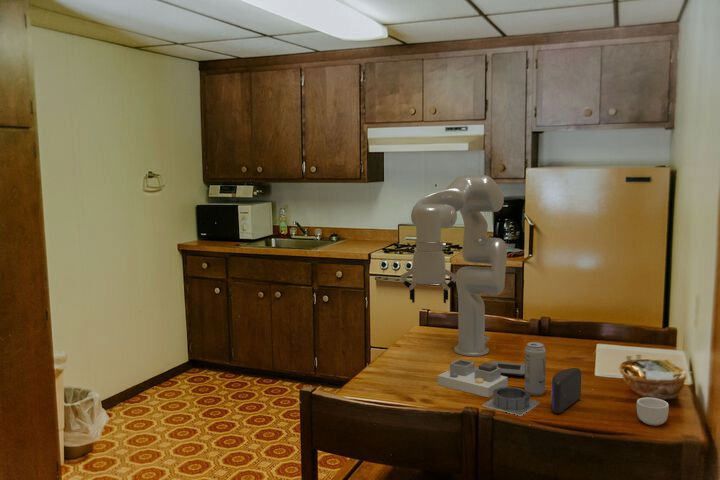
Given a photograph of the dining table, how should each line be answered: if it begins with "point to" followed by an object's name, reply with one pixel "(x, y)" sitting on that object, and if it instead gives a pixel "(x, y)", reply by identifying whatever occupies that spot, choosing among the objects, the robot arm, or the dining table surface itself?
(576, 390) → the leaning round-cornered charcoal block
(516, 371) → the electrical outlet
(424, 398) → the dining table surface
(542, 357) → the energy drink can
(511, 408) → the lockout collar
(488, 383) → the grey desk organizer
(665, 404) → the teacup
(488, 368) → the tagged breaker
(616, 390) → the dining table surface
